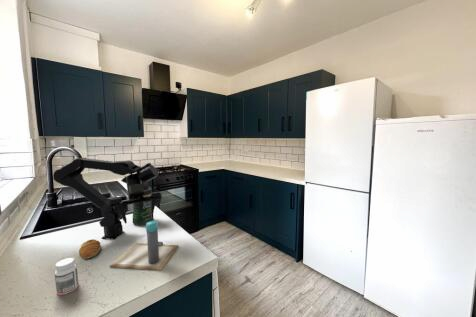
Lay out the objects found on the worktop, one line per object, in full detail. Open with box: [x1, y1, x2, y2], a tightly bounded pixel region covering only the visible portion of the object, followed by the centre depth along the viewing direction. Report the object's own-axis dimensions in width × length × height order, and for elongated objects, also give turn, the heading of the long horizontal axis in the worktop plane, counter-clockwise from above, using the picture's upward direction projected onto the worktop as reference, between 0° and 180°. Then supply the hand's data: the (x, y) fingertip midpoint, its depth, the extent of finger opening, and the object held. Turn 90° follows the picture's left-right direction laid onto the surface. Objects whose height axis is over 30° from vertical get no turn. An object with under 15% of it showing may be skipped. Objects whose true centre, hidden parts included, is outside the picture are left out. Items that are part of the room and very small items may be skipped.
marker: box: [145, 220, 159, 264], centre depth 66 cm, size 4×4×14 cm
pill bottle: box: [54, 257, 79, 296], centre depth 55 cm, size 5×5×8 cm
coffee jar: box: [132, 186, 155, 226], centre depth 100 cm, size 10×8×19 cm
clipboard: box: [109, 241, 179, 272], centre depth 71 cm, size 18×14×2 cm
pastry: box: [78, 238, 102, 260], centre depth 74 cm, size 9×7×4 cm
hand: (139, 220), depth 75 cm, fingers open, 9 cm apart
